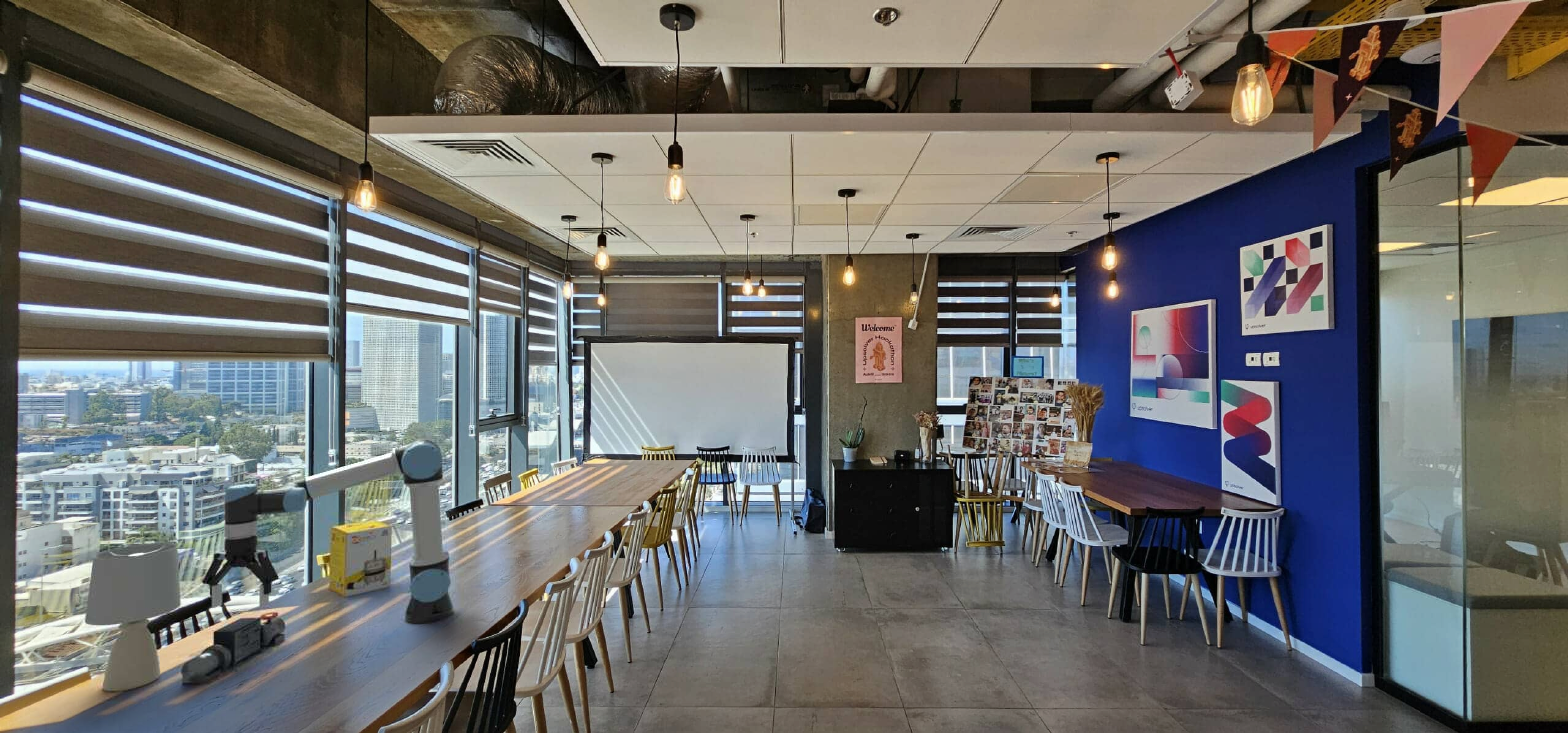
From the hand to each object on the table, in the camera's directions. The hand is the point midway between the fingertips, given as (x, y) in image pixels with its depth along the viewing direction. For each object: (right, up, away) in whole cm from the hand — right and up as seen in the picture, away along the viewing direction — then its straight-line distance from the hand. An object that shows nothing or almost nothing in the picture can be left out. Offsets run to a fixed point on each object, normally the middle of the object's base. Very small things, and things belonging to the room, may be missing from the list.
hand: (240, 605), depth 189 cm
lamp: (-18, -16, -15) cm, 28 cm away
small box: (-1, -16, -1) cm, 16 cm away
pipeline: (-1, -16, -1) cm, 16 cm away
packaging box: (-8, -18, +65) cm, 68 cm away
